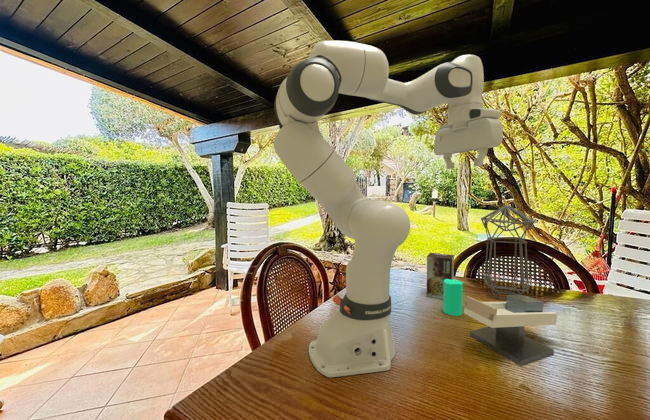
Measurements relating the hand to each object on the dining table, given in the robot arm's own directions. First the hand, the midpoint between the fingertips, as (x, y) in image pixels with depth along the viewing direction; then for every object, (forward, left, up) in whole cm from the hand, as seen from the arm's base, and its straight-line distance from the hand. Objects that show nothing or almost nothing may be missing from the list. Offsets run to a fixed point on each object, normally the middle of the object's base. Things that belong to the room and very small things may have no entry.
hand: (463, 167), depth 77 cm
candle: (+6, +8, -48) cm, 49 cm away
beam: (+5, -12, -41) cm, 42 cm away
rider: (+10, -12, -40) cm, 43 cm away
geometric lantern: (+36, +12, -48) cm, 61 cm away
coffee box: (+12, +20, -48) cm, 53 cm away
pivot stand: (+5, -12, -48) cm, 49 cm away
